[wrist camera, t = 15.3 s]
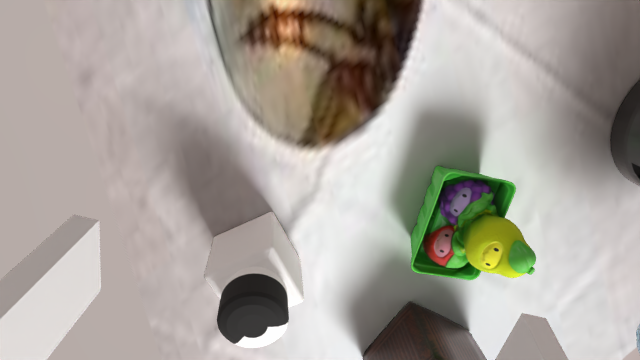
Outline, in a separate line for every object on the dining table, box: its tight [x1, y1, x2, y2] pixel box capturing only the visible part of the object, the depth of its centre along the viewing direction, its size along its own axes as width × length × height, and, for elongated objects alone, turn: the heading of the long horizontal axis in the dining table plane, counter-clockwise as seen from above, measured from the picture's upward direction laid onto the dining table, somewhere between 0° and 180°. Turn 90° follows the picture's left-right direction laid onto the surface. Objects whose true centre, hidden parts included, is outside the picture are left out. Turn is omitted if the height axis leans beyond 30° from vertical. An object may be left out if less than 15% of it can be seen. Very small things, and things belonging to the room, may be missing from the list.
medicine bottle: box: [204, 212, 304, 348], centre depth 42 cm, size 7×7×12 cm
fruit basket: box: [411, 166, 536, 280], centre depth 42 cm, size 11×9×11 cm
